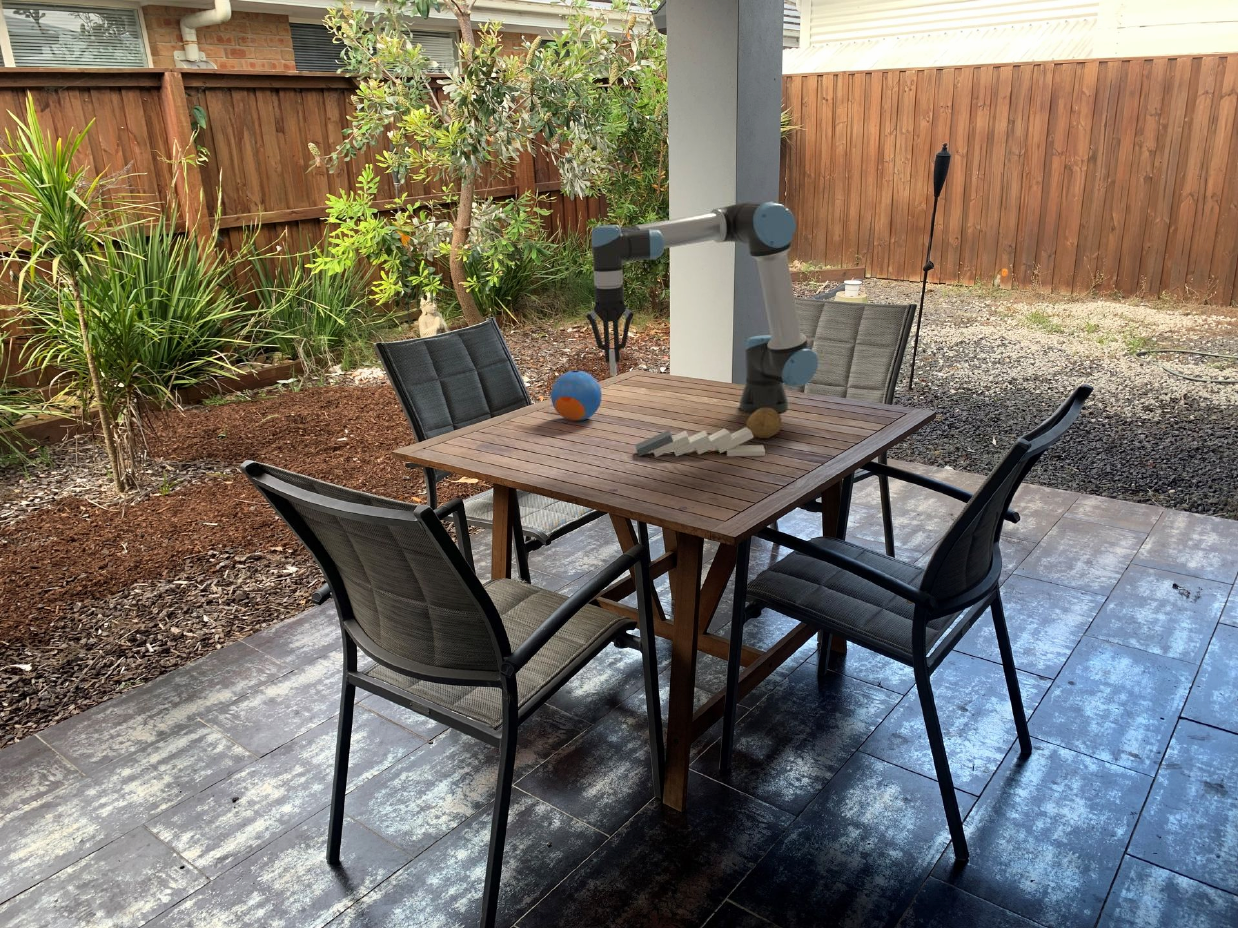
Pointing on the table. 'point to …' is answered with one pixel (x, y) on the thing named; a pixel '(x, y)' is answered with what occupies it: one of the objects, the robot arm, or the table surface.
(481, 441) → the table surface
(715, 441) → the domino
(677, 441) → the domino
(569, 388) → the treat dispenser ball
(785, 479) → the table surface
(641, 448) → the domino
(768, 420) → the potato
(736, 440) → the domino
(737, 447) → the domino
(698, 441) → the domino
